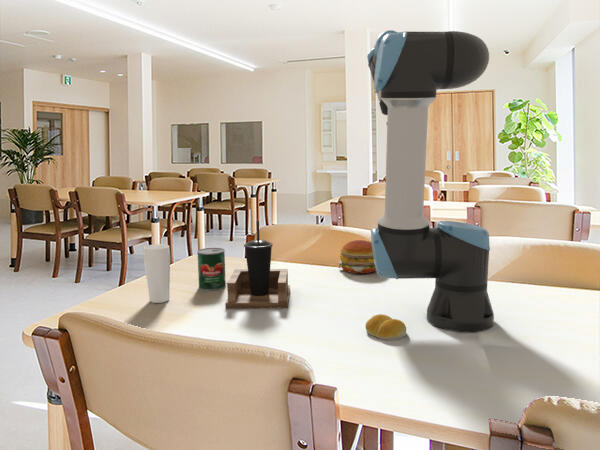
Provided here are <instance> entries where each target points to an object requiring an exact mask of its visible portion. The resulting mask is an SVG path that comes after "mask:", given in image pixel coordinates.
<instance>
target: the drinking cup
mask: <svg viewBox="0 0 600 450" xmlns="http://www.w3.org/2000/svg"><path fill="white" fill-rule="evenodd" d="M272 247H273V243H272V242H269V240H265V239H260V220H256V239H252V240H250V241H248V242H246V243H244V244H243V248H245V249H244V250H245V258H246V265H247V269H248V275H249V283H250V291H251V295H254V296H264V295H267V294H268V293H269V279H270V269H271V265H272V264H271V261H272V259H271V258H272Z"/></svg>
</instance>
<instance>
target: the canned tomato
mask: <svg viewBox="0 0 600 450" xmlns="http://www.w3.org/2000/svg"><path fill="white" fill-rule="evenodd" d="M225 252H226V251H225V249H224V248H221V247H207V248H201V249H198V250H197V252H196V253H197V271H198V273H197V275H198V289H199V290H201V291H208V292H211V291H214V292H215V291H220V290H223V289H225V288H226V287H227V282H226V258H225V257H226V256H225Z"/></svg>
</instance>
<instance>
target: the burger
mask: <svg viewBox="0 0 600 450" xmlns="http://www.w3.org/2000/svg"><path fill="white" fill-rule="evenodd" d="M339 258H340V260H339V262H338V268H339V269H341V268H342V270H343V271H345V272H348V273H352V274H370V273H373V272H376V268H375V263H374V257H373V251H372V243H371V241H369V240H363V239H362V240H361V239H358V240H351V241H349V242H347V243H345V244H344V245H343V246H342V247H341V249H340V254H339Z"/></svg>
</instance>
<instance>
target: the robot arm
mask: <svg viewBox="0 0 600 450" xmlns="http://www.w3.org/2000/svg"><path fill="white" fill-rule="evenodd" d="M489 61H490V52H489V48H488V46H487V44H486V43H485V41H484V40H483V39H482V38H481V37H479V36H477V35H475V34H472V33H469V32H465V31H456V30H450V31H449V30H448V31H400V32H399V31H398V32H397V31H395V30H393V29H391V30H386V31H383V32H382V33H380V34H379V36H378V37H377V39H376V41H375V44H374V48H372V49H370V51H369V52H367V63H368V68H369V71H370V74H371V78H372V82H373V88H374V93H375V94H376V96H377V99H378V101H379V107H380V111H381V114H382V115H384V116H386V117H387V121H386V128H387V129H386V152H385V153H386V154H385V155H386V156H385V157H386V158H385V187H384V188H385V191H384V192H385V193H384V196H385V197H384V213H383V215H382V216H380V218H378V220H377V227H374V228H371V229H370V242H371V243H372V251H373V257H374V263H375V268H376V271H375V272H376V274H377V275H378V276H379V277H380V278H382V279H396V280H399V279H404V280H405V279H435V284H434V290H433V292H432V295H431V297H430V300H429V302H428V305H427V309H426V321H428V322H429V323H430V324H431V325H433V326H435V327H437V328H440V329H444V330H449V331H454V332H463V333H464V332H465V333H468V332H470V333H471V332H481V331H487V330H489V329H491V328H492V327H493V326H494V322H495V313H494V310H493V307H492V304H491V300H490V297H489V294H488V279H489V262H490V261H489V260H490V251H491V248H490V234H489V232H488V230H487V229H486V228H484V227H483V226H479V225H476V224H472V223H467V222H461V221H460V222H459V221H454V220H453V221H451V220H440V221H439V220H438V222H437V223H436V225H435V227H430V221H429V219H427V218H426V216H425V215H424V205H425V204H424V203H425V202H424V201H425V184H426V183H425V182H426V181H425V180H426V179H425V178H426V162H427V140H428V122H429V121H428V120H429V117H428V116H429V108H430V105H431V104H432V103H433V102H435V100H436V99H437V91H438V90H451V89H452V90H453V89H459V88H463V87H465V86H468V85H470V84H472V83H474V82H475V81H477V80H478V79H479V78H480V77H481V76H482V75H483V74H484V73H485V72H486V70H487V67H488V64H489Z"/></svg>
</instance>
